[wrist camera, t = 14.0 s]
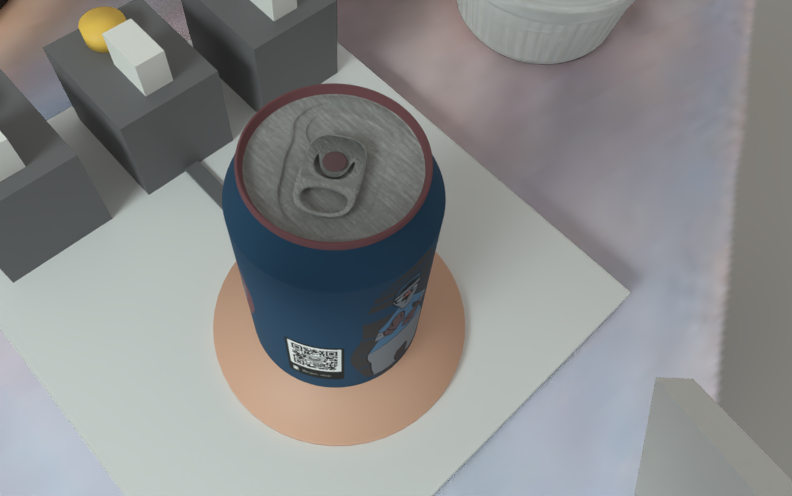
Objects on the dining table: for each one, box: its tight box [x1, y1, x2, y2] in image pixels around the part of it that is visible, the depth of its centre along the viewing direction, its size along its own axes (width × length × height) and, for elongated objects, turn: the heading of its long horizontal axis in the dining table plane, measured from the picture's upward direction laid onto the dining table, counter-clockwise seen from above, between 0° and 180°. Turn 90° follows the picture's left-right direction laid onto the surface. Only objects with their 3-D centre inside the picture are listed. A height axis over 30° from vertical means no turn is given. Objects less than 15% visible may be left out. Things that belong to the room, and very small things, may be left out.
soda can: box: [222, 83, 446, 388], centre depth 25 cm, size 7×7×12 cm
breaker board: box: [0, 0, 631, 496], centre depth 30 cm, size 26×22×8 cm
